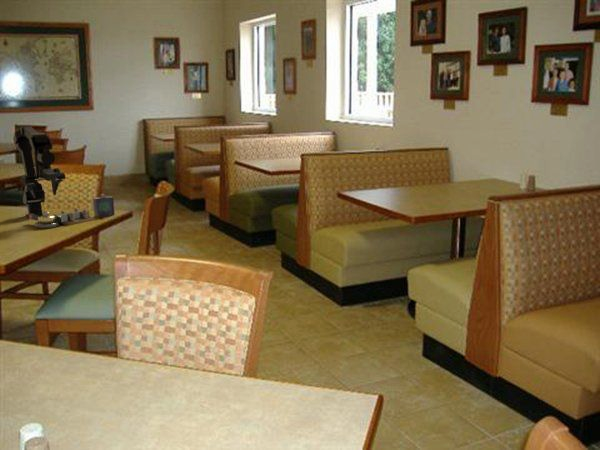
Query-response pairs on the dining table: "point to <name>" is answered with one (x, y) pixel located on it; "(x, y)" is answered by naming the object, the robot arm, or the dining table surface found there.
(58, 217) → the spanner
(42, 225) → the nut base
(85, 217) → the rack
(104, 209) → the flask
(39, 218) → the grey red-tipped part
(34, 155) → the robot arm
